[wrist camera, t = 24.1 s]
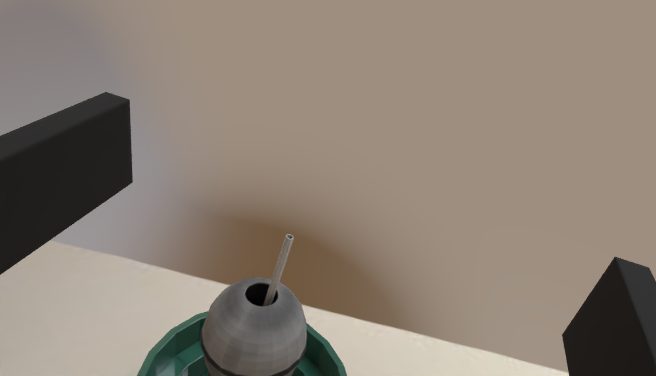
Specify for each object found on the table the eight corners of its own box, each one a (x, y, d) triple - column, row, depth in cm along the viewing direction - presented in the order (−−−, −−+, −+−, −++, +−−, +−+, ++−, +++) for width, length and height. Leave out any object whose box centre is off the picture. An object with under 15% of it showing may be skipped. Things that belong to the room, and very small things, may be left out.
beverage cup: (185, 401, 39) (195, 208, 29) (268, 379, 42) (304, 198, 32) (203, 491, 34) (224, 293, 23) (296, 458, 37) (352, 271, 26)
